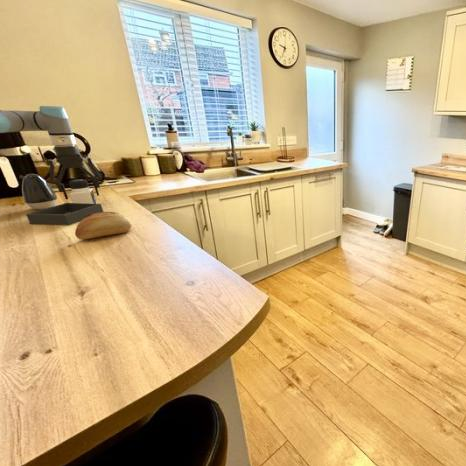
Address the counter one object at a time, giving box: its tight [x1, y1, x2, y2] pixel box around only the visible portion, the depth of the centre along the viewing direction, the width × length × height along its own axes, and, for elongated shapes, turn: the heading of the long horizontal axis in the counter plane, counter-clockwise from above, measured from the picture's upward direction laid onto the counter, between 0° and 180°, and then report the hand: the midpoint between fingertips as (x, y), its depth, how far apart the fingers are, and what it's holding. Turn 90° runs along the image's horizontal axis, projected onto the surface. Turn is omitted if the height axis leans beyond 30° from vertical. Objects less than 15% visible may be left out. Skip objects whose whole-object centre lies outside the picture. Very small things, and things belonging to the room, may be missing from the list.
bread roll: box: [74, 211, 132, 240], centre depth 99 cm, size 10×15×8 cm, turn 137°
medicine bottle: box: [68, 179, 98, 204], centre depth 129 cm, size 7×7×12 cm
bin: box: [25, 202, 104, 226], centre depth 116 cm, size 16×16×4 cm
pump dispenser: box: [19, 173, 58, 211], centre depth 126 cm, size 10×10×15 cm
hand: (83, 196), depth 130 cm, fingers open, 10 cm apart
